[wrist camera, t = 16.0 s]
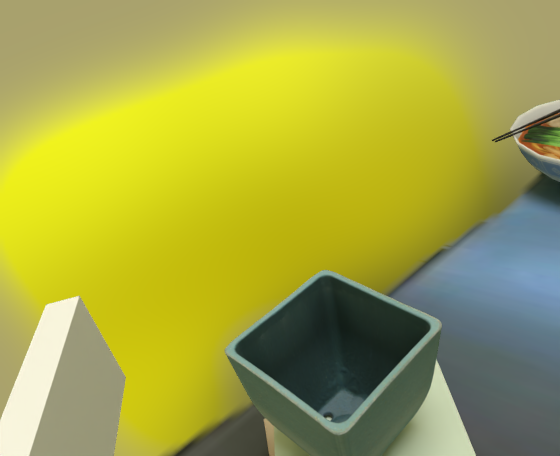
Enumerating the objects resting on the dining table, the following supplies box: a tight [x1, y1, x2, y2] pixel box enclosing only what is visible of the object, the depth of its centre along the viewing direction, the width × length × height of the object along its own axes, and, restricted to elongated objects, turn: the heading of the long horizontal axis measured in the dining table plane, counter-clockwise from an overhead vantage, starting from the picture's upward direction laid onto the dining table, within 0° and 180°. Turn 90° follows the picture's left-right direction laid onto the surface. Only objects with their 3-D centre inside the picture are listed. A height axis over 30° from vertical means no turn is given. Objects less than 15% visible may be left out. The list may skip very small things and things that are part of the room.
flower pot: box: [225, 270, 442, 456], centre depth 29 cm, size 9×9×9 cm
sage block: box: [274, 360, 476, 456], centre depth 33 cm, size 12×12×5 cm
